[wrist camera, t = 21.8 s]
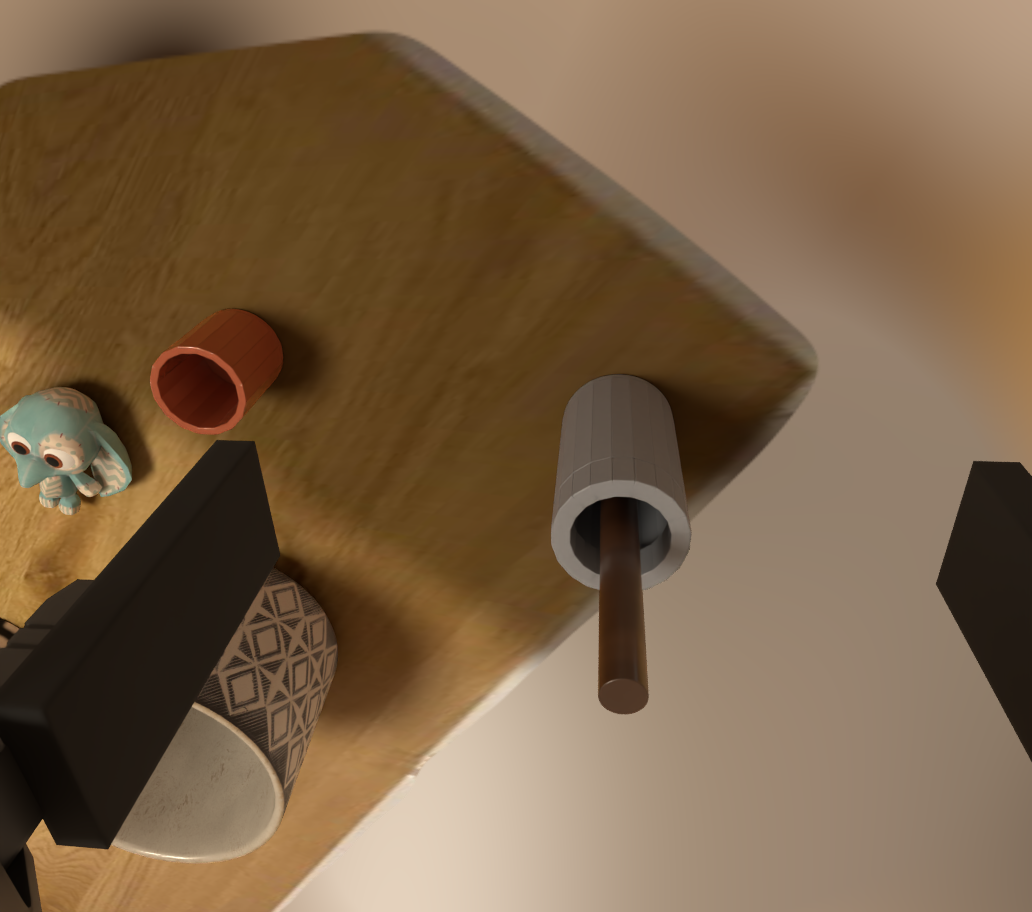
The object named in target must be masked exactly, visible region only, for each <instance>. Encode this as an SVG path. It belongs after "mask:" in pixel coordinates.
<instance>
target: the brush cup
mask: <svg viewBox="0 0 1032 912" xmlns="http://www.w3.org/2000/svg"><path fill="white" fill-rule="evenodd" d="M282 365H283V350H282V346H281V343H280V341H279V339H278V337H277V335H276V334H275V332H274V331H273V329H272V328H271V327H270V326H269V325H268V324H267V323H266V322H265V321H263V320H262V319H261V318H259V317H258V316H256V315H254V314H252V313H250V312H247V311H244V310H239V309H225V310H220V311H217V312H215V313H213V314H212V315H210V316H208V317H207V318H205V319H204V320H203V321H202V322H200V323H199V324H198V325H197V326H195V327H194V328H193V329H192V330H190V331H189V332H188V333H187V334H185V335H184V336H183V337H182V338H180V339H179V340H178V341H177V342H175V343H174V344H173V345H172V346H170V347H169V348H168V349H167V350H165V351H164V352H163V353H162V354H161V355H160V356H159V358H158V359H157V360H156V361H155V363H154V364H153V366H152V371H151V377H150V385H151V389H152V392H153V396H154V399H155V401H156V402H157V404H158V405H159V406H160V408H161V409H162V411H163V412H164V414H165V415H166V416H167V417H169V418H170V419H171V420H172V421H174V422H175V423H176V424H178V425H179V426H180V427H182V428H185V429H187V430H190V431H193V432H195V433H198V434H220V433H223V432H225V431H228V430H230V429H232V428H234V426H235V425H236V424H237V423H238V422H239V421H240V420H241V419H242V418H243V416H244V415H245V414H246V413H247V412H248V411H249V410H250V408H251V407H252V406H253V405H254V404H255V403H256V401H257V400H258V399H259V398H260V397H261V396H262V394H263V393H264V392H265V391H266V390H267V389H268V388H269V386H270V385H271V384H272V383H273V382H274V381H275V379H276V378H277V377H278V375H279V373H280V372H281V369H282Z"/></svg>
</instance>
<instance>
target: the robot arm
mask: <svg viewBox="0 0 1032 912" xmlns="http://www.w3.org/2000/svg"><path fill="white" fill-rule="evenodd" d="M279 557H280V552H279V547H278V543H277V539H276V534H275V530H274V525H273V521H272V516H271V512H270V507H269V503H268V499H267V494H266V490H265V485H264V481H263V476H262V472H261V467H260V463H259V459H258V454H257V450H256V445H255V441H226V440H216V442H215V443H214V444H213V445H212V446H211V447H210V448H209V450H208V451H207V452H206V453H205V454H204V455H203V456H202V458H201V459H200V460H199V461H198V462H197V463H196V464H195V466H194V467H193V468H192V469H191V470H190V471H189V472H188V474H187V475H186V476H185V477H184V478H183V479H182V480H181V482H180V483H179V484H178V485H177V486H176V487H175V488H174V490H173V491H172V492H171V493H170V494H169V495H168V496H167V498H166V499H165V500H164V501H163V502H162V503H161V504H160V506H159V507H158V508H157V509H156V510H155V511H154V512H153V514H152V515H151V516H150V517H149V518H148V519H147V520H146V522H145V523H144V524H143V525H142V526H141V527H140V528H139V530H138V531H137V532H136V533H135V534H134V535H133V536H132V538H131V539H130V540H129V541H128V542H127V543H126V544H125V546H124V547H123V548H122V549H121V550H120V551H119V552H118V554H117V555H116V556H115V557H114V558H113V559H112V560H111V562H110V563H109V564H108V565H107V566H106V567H105V568H104V570H103V571H102V572H101V573H100V574H99V575H98V576H97V578H96V579H95V580H80V579H77V580H76V581H74V582H73V583H71V584H70V585H68V586H67V587H65V588H64V589H62V590H60V591H59V592H57V593H56V594H54V595H53V596H51V597H50V598H48V599H47V600H46V601H45V602H44V603H43V604H42V605H41V606H40V607H39V608H38V609H37V610H36V612H35V613H34V614H33V615H32V616H31V617H30V618H29V619H28V620H27V621H26V622H25V626H24V628H20V629H19V630H18V631H17V632H16V633H15V634H14V635H13V636H12V637H11V639H10V640H9V641H8V642H7V646H6V648H1V649H0V912H42V909H41V903H40V897H39V891H38V884H37V878H36V872H35V866H34V859H33V856H32V854H31V852H30V850H29V848H28V847H27V845H26V842H27V841H28V839H29V838H30V836H31V835H32V833H33V832H34V830H35V829H36V827H37V826H38V824H39V823H40V822H41V820H42V819H43V820H44V822H45V824H46V826H47V828H48V829H49V831H50V833H51V835H52V837H53V839H54V841H55V843H56V845H64V846H76V847H87V848H99V849H109V847H110V845H111V844H112V842H113V840H114V838H115V837H116V835H117V833H118V832H119V830H120V828H121V826H122V825H123V823H124V821H125V820H126V818H127V816H128V815H129V813H130V811H131V809H132V808H133V806H134V804H135V803H136V801H137V799H138V797H139V796H140V794H141V792H142V791H143V789H144V787H145V786H146V784H147V782H148V780H149V779H150V777H151V775H152V774H153V772H154V770H155V768H156V767H157V765H158V763H159V762H160V760H161V758H162V757H163V755H164V753H165V751H166V750H167V748H168V746H169V745H170V743H171V741H172V739H173V738H174V736H175V734H176V733H177V731H178V729H179V728H180V726H181V724H182V722H183V721H184V719H185V717H186V716H187V714H188V712H189V710H190V709H191V707H192V705H193V704H194V702H195V700H196V699H197V697H198V695H199V693H200V692H201V690H202V688H203V687H204V685H205V683H206V681H207V680H208V678H209V676H210V675H211V673H212V671H213V670H214V668H215V666H216V664H217V663H218V661H219V659H220V658H221V656H222V654H223V652H224V651H225V649H226V647H227V646H228V644H229V642H230V641H231V639H232V637H233V635H234V634H235V632H236V630H237V629H238V627H239V625H240V623H241V622H242V620H243V618H244V617H245V615H246V613H247V612H248V610H249V608H250V606H251V605H252V603H253V601H254V600H255V598H256V596H257V594H258V593H259V591H260V589H261V588H262V586H263V584H264V583H265V581H266V579H267V577H268V576H269V574H270V572H271V571H272V569H273V567H274V565H275V564H276V562H277V560H278V559H279ZM936 585H937V587H938V589H939V591H940V592H941V594H942V596H943V598H944V600H945V602H946V604H947V605H948V607H949V609H950V611H951V613H952V615H953V617H954V618H955V620H956V622H957V624H958V626H959V628H960V630H961V631H962V633H963V635H964V637H965V639H966V640H967V643H968V644H969V646H970V648H971V650H972V652H973V654H974V656H975V657H976V659H977V661H978V663H979V665H980V667H981V669H982V670H983V672H984V674H985V676H986V678H987V679H988V681H989V683H990V685H991V687H992V689H993V691H994V693H995V694H996V696H997V698H998V700H999V702H1000V704H1001V706H1002V708H1003V709H1004V711H1005V713H1006V715H1007V717H1008V718H1009V721H1010V722H1011V724H1012V726H1013V728H1014V730H1015V732H1016V734H1017V735H1018V737H1019V739H1020V741H1021V743H1022V745H1023V746H1024V748H1025V750H1026V752H1027V754H1028V755H1029V758H1030V760H1031V761H1032V476H1031V475H1030V474H1029V473H1028V471H1027V470H1026V469H1025V468H1024V467H1023V465H1022V464H1021V463H1020V462H986V461H984V462H983V461H973V464H972V468H971V471H970V474H969V477H968V481H967V484H966V487H965V491H964V494H963V497H962V500H961V504H960V507H959V510H958V513H957V517H956V520H955V523H954V527H953V530H952V533H951V537H950V540H949V543H948V546H947V550H946V553H945V556H944V559H943V563H942V566H941V569H940V572H939V576H938V579H937V582H936Z"/></svg>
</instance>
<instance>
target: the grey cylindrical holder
mask: <svg viewBox="0 0 1032 912" xmlns="http://www.w3.org/2000/svg"><path fill="white" fill-rule="evenodd" d="M612 497H632V498H635V499H637V508H638V525H639V541H640V558H641V575H642V590H646V589H649V588H651V587H654V586H656V585H658V584H659V583H662V582H663V581H665V580H667V579H668V578H669V577H670V576H672V575H673V574H674V573H675V572H676V571H677V570H678V569H679V568H680V566H681V565H682V563H683V561H684V560H685V558H686V556H687V554H688V552H689V550H690V542H691V527H690V521H689V514H688V508H687V501H686V495H685V488H684V482H683V476H682V469H681V463H680V457H679V450H678V444H677V437H676V431H675V425H674V420H673V416H672V411H671V408H670V405H669V403H668V401H667V400H666V398H665V397H664V395H663V394H662V393H661V392H660V391H659V390H658V389H657V388H656V387H655V386H653V385H652V384H650V383H649V382H647V381H645V380H643V379H640V378H638V377H634V376H630V375H621V374H618V375H608V376H603V377H600V378H597V379H594V380H592V381H590V382H588V383H587V384H585V385H584V386H582V387H581V388H580V389H579V390H578V391H577V392H576V393H575V394H574V395H573V396H572V398H571V399H570V401H569V402H568V404H567V407H566V409H565V413H564V417H563V421H562V431H561V440H560V450H559V459H558V469H557V478H556V488H555V497H554V507H553V517H552V526H551V544H552V547H553V550H554V553H555V555H556V558H557V560H558V562H559V563H560V564H561V566H562V567H563V568H564V569H565V570H566V571H567V573H568V574H569V575H570V576H571V577H573V578H575V579H576V580H578V581H579V582H581V583H582V584H584V585H586V586H588V587H591V588H594V589H598V590H600V514H601V500H603V499H607V498H612Z"/></svg>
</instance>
